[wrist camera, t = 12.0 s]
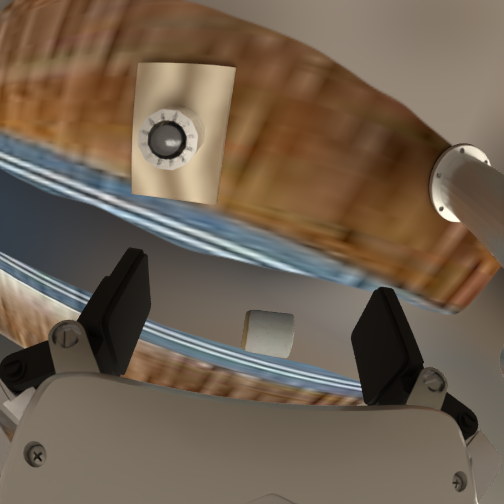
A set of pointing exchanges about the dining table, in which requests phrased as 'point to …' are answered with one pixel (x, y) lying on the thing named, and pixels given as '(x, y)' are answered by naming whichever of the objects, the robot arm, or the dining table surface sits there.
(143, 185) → the block
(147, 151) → the ring
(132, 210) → the dining table surface
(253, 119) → the dining table surface
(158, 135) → the dark domed cylinder
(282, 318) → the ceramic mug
